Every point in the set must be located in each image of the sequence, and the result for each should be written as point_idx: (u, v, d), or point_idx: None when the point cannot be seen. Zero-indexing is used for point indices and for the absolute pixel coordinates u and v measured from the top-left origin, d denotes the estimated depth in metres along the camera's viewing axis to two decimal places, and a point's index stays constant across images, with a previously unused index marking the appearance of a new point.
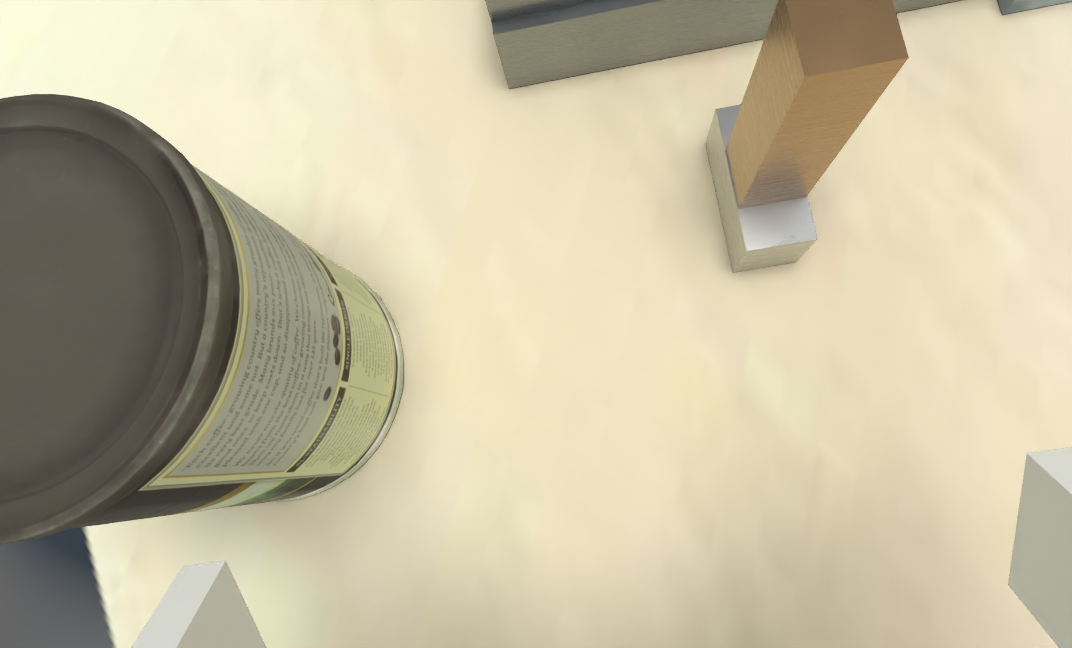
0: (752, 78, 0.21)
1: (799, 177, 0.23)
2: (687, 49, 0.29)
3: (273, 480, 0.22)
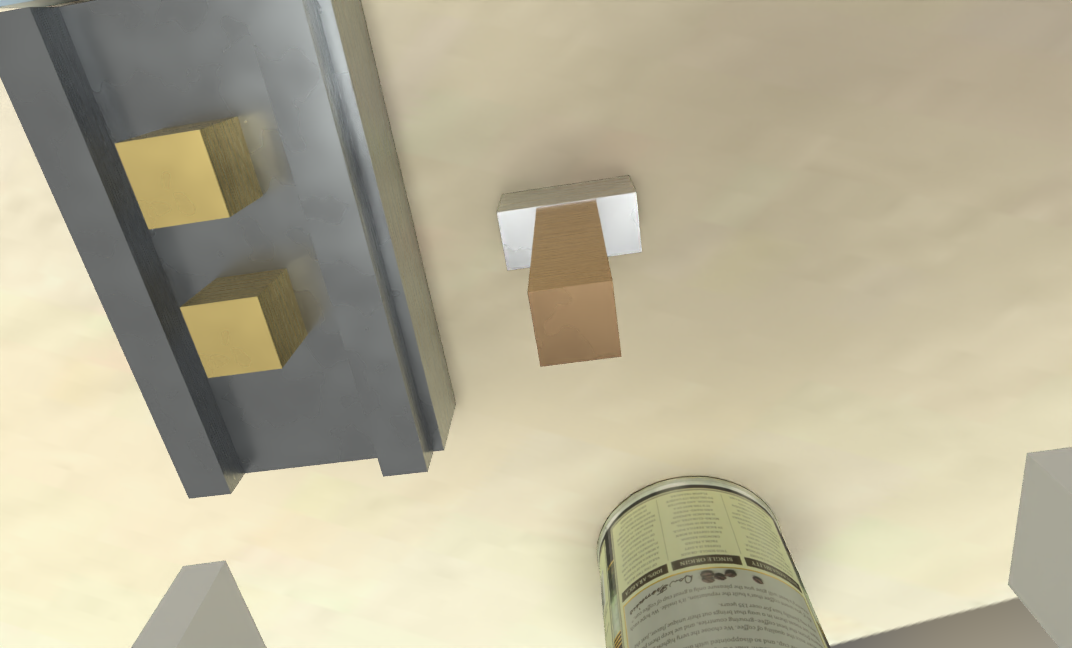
0: None
1: None
2: (420, 263, 0.32)
3: (808, 602, 0.32)
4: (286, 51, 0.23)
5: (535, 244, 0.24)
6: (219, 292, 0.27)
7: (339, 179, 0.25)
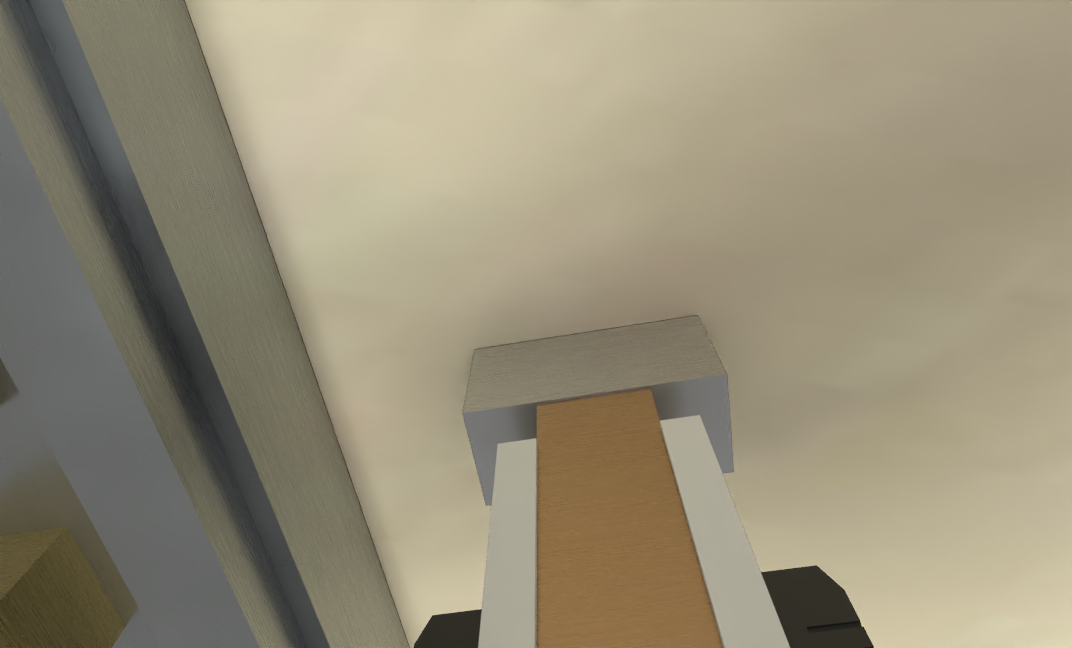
0: None
1: None
2: (338, 462, 0.19)
3: None
4: None
5: (541, 567, 0.10)
6: None
7: (120, 401, 0.12)
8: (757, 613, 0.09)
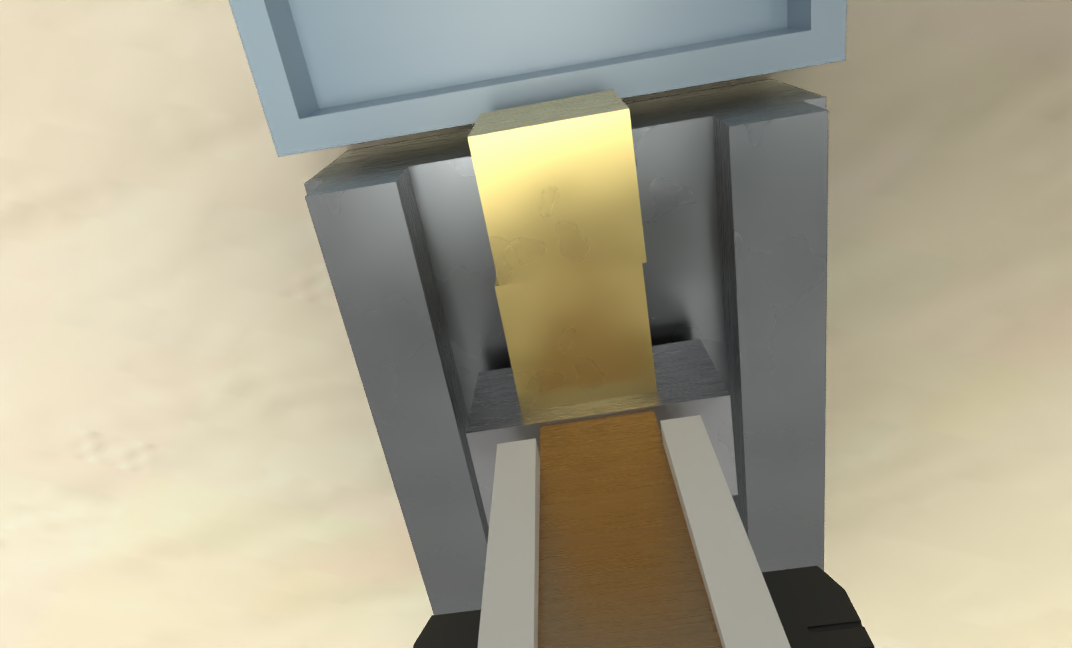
0: None
1: None
2: None
3: None
4: (782, 240, 0.15)
5: (543, 584, 0.10)
6: None
7: (809, 408, 0.17)
8: (757, 613, 0.09)
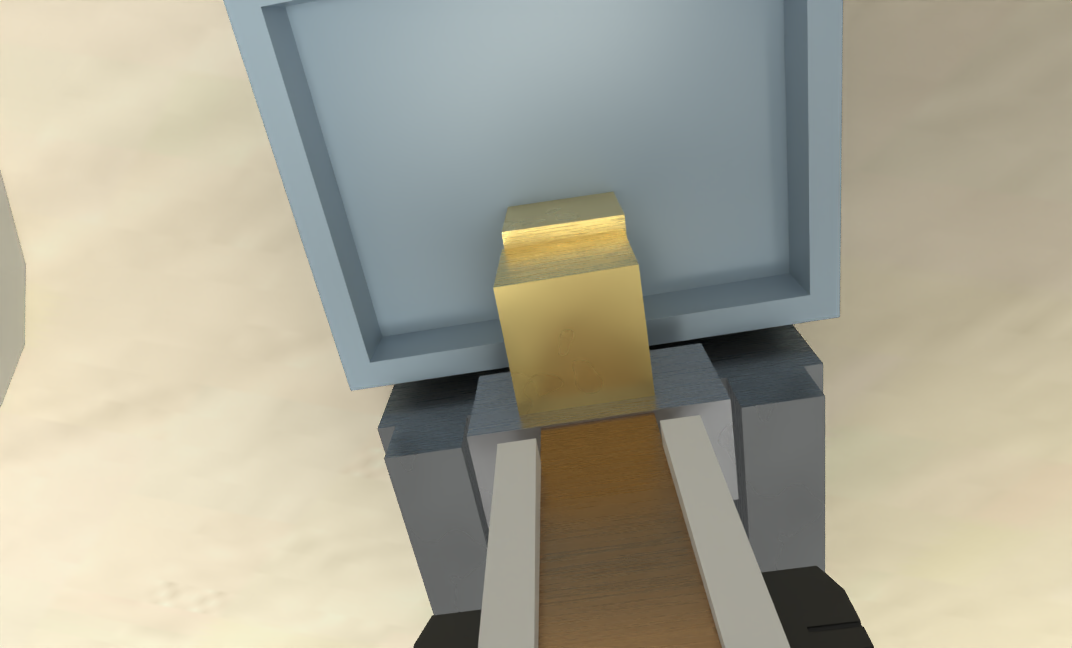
0: None
1: None
2: None
3: None
4: (787, 488, 0.18)
5: (543, 587, 0.10)
6: (542, 264, 0.15)
7: None
8: (757, 613, 0.09)
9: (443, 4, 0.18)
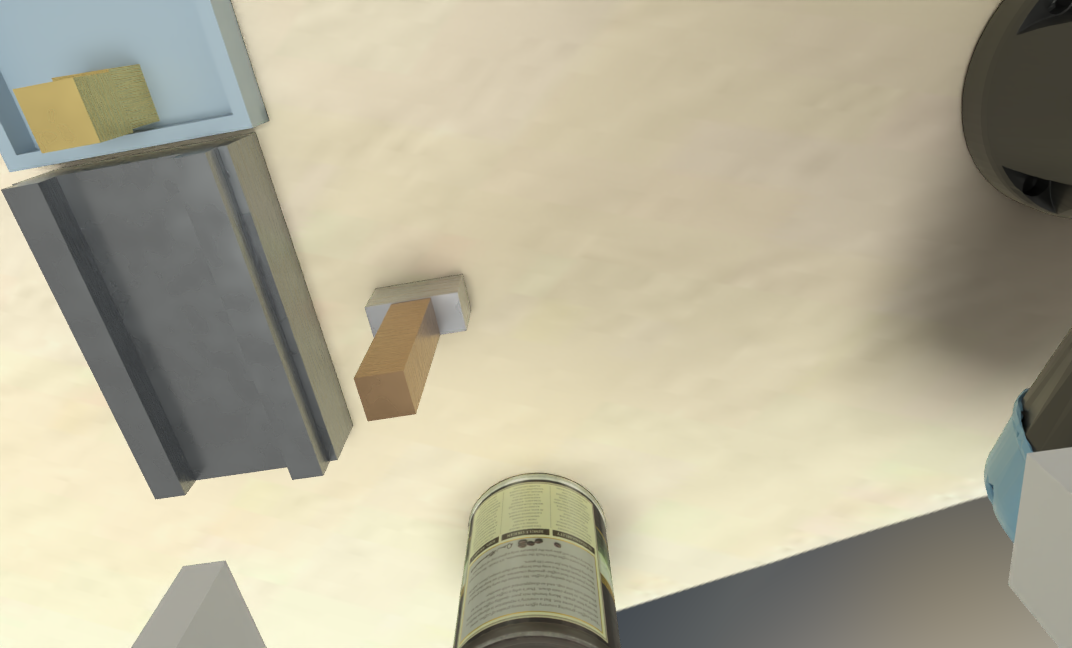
0: None
1: (428, 324, 0.39)
2: (317, 326, 0.44)
3: (599, 560, 0.44)
4: (205, 206, 0.36)
5: (375, 338, 0.37)
6: None
7: (245, 283, 0.38)
8: None
9: None
